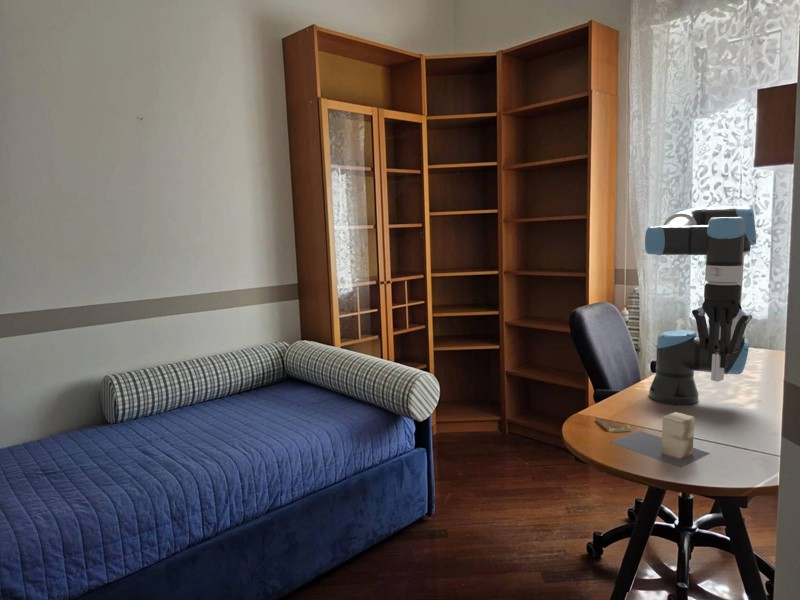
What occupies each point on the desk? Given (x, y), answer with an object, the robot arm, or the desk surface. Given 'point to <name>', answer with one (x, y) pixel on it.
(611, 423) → the shard
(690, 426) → the birch block
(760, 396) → the desk surface
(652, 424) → the desk surface
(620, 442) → the rubber mat
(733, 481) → the desk surface
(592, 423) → the desk surface
